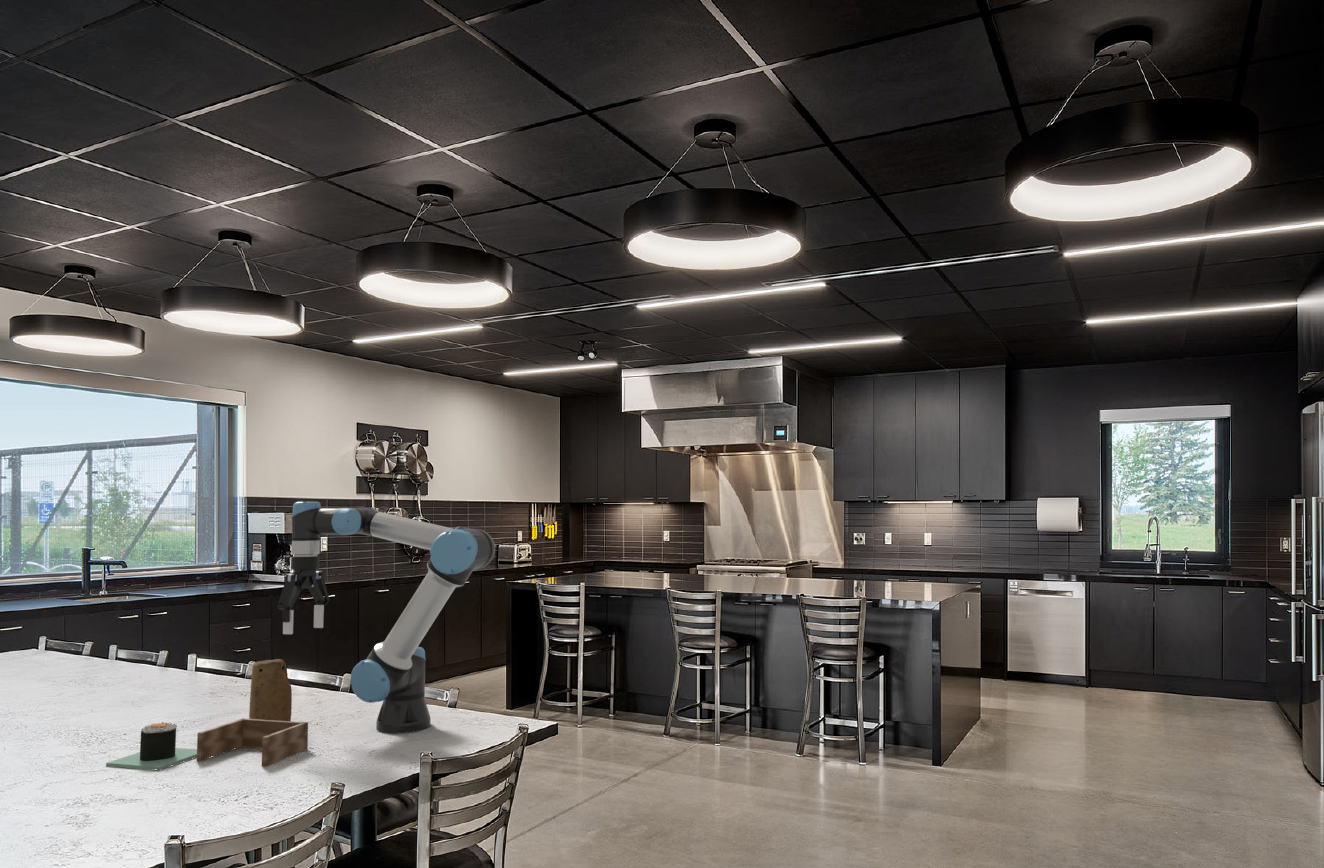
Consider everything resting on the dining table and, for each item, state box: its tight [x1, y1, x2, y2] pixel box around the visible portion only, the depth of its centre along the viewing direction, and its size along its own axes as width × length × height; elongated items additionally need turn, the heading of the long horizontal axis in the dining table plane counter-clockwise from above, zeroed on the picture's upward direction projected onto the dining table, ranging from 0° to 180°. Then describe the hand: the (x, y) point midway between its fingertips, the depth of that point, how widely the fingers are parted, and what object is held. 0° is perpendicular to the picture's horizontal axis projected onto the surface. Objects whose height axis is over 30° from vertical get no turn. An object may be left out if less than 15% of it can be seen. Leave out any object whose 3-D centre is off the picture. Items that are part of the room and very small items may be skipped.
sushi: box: [139, 722, 178, 761], centre depth 230 cm, size 8×8×8 cm
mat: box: [105, 747, 197, 771], centre depth 230 cm, size 16×16×1 cm
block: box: [248, 658, 293, 721], centre depth 260 cm, size 11×8×20 cm
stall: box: [196, 718, 309, 767], centre depth 234 cm, size 16×20×7 cm
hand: (303, 631), depth 257 cm, fingers open, 13 cm apart
